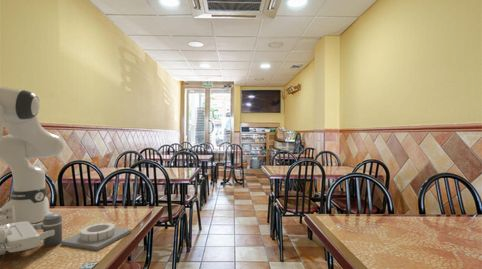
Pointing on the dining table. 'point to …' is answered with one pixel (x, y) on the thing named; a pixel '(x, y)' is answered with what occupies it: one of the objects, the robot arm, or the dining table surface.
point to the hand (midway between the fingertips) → (50, 228)
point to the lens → (56, 224)
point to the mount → (96, 236)
